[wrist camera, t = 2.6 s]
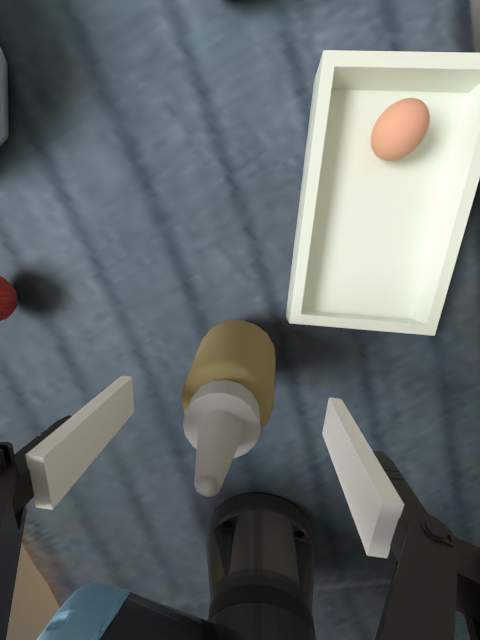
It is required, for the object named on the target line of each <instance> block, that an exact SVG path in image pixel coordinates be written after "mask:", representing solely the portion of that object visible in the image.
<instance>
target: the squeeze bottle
mask: <svg viewBox="0 0 480 640" xmlns="http://www.w3.org/2000/svg"><path fill="white" fill-rule="evenodd" d="M275 369H276V356H275V347H274V345H273V343H272V341H271V339H270V337H269V336H268V334H267V333H266V332H265V331H263V330H262V329H261V328H260V327H258V326H257V325H256V324H253V323H250V322H246V321H243V320H232V321H224V322H222V323H220V324H218V325H217V326H215V327H213V328H211V329H210V331H209V332H208V333H207V334H206V336H205V337H204V338H203V339H202V342H201V344H200V347H199V349H198V351H197V354H196V356H195V359H194V361H193V364H192V366H191V369H190V371H189V374H188V376H187V378H186V381H185V385H184V389H183V393H182V402H183V407H184V412H185V415H184V419H183V426H184V431H185V436H186V437H187V438H188V440H189V441H190V443H191V444H192V446H193V447H194V448H196V449H197V452H196V468H195V489H196V490H197V491H198V492H199V493H200V494H201V495H204V496H214V495H217V494H218V493H219V492H220V490H221V487H222V485H223V482H224V480H225V477H226V475H227V472H228V470H229V467H230V465H231V463H232V460H233V459H234V458H236V457H239V456H241V455H244V454H246V453H247V452H248V451H249V450H250V449H251V448H252V447H253V446H254V445H255V444H256V442H257V439H258V437H259V434H260V430H261V429H262V428H263V427H264V426H265V425H266V424H267V423H268V420H269V417H270V415H271V412H272V409H273V402H274V385H275Z"/></svg>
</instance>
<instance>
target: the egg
mask: <svg viewBox="0 0 480 640" xmlns="http://www.w3.org/2000/svg"><path fill="white" fill-rule="evenodd" d="M429 122H430V114H429V110H428V107H427V106H426V104H425V103H424V102H423V101H421V100H419V99H416V98H406V99H402V100H399V101H397V102H395V103H393V104H392V105H391V106H389V107H388V108H387V109H386V110H385V111H384V112H383V113H382V114H381V115H380V117H379V118H378V120H377V121H376V123H375V125H374V127H373V130H372V134H371V147H372V150H373V152H374V154H375V155H376V156H377V157H379V158H380V159H382V160H386V161H393V160H398V159H400V158H403V157H405V156H406V155H408V154H410V153H411V152H412V151H413V150H414V149H415V148H417V146H418V145H419V144H420V143H421V141H422V140H423V138H424V137H425V135H426V133H427V130H428V127H429Z"/></svg>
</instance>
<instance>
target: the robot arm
mask: <svg viewBox="0 0 480 640" xmlns="http://www.w3.org/2000/svg"><path fill="white" fill-rule="evenodd" d="M133 413H134V400H133V381H132V377H129V376H120V377H119V378H118V379H117V380H116V381H114V382H113V383H112V384H111V385H110V386H108V387H107V388H106V389H105V390H103V391H102V392H101V393H100V394H99V395H97V396H96V397H95V398H94V399H93V400H91V401H90V402H89V403H88V404H87V405H85V406H84V407H83V408H82V409H80V410H79V411H78V412H77V413H76V414H74V415H73V416H66V417H64V418H62V419H60V420H58V421H57V422H55V423H54V424H53V425H51V426H50V427H49V428H48V429H47V430H45V431H44V432H43V433H41V434H40V436H37V437H36V438H35V439H34V440H32V441H31V442H30V443H29V444H27V445H26V446H25V447H23V448H22V449H21V450H20V451H18V452H17V453H16V454H15V455H14V451H13V446H12V444H11V443H9V442H0V640H6V635H7V628H8V622H9V616H10V610H11V604H12V598H13V591H14V586H15V579H16V573H17V567H18V560H19V555H20V548H21V542H22V536H23V530H24V524H25V517H26V506H25V505H26V504H27V503H28V502H29V501H30V500H31V499H32V498H33V497H34V500H35V505H36V507H38V508H44V509H51V510H53V509H54V507H55V506H56V505H57V504H58V503H59V501H60V500H61V499H62V498H63V497H64V495H65V494H66V493H67V492H68V491H69V489H70V488H71V487H72V486H73V485H74V483H75V482H76V481H77V480H78V479H79V477H80V476H81V475H82V474H83V473H84V471H85V470H86V469H87V468H88V467H89V466H90V464H91V463H92V462H93V461H94V460H95V458H96V457H97V456H98V455H99V454H100V452H101V451H102V450H103V449H104V448H105V446H106V445H107V444H108V443H109V442H110V440H111V439H112V438H113V437H114V436H115V434H116V433H117V432H118V431H119V430H120V428H121V427H122V426H123V425H124V424H125V422H126V421H127V420H128V419H129V418H130V416H131V415H132V414H133ZM322 434H323V437H324V440H325V443H326V445H327V448H328V451H329V453H330V456H331V459H332V462H333V464H334V467H335V470H336V473H337V475H338V478H339V481H340V483H341V486H342V489H343V492H344V494H345V497H346V500H347V502H348V505H349V508H350V511H351V513H352V516H353V519H354V522H355V524H356V527H357V530H358V532H359V535H360V538H361V541H362V543H363V546H364V549H365V552H366V554H367V556H374V557H381V558H387V557H388V554H389V551H390V548H391V549H392V551H393V553H394V556H395V558H396V560H397V561H396V564H395V567H394V570H393V573H392V576H391V579H390V580H391V582H390V586H389V590H388V594H387V597H386V601H385V605H384V609H383V612H382V616H381V620H380V624H379V627H378V631H377V635H376V639H375V640H454V632H455V611H456V610H457V611H459V612H461V613H463V614H465V619H466V623H467V627H468V631H469V635H470V639H471V640H480V547H477V546H475V545H472V544H470V543H468V542H465V541H463V540H460V539H458V538H456V537H454V535H453V534H452V532H451V531H450V530H449V529H448V528H447V527H446V526H445V525H444V524H443V523H442V522H440V521H439V520H438V519H436V518H435V517H433V516H431V515H429V514H428V513H427V512H426V510H425V509H424V507H423V506H422V504H421V503H420V501H419V500H418V498H417V497H416V495H415V494H414V492H413V491H412V489H411V488H410V486H409V485H408V483H407V482H406V481H405V479H404V477H403V476H402V474H401V473H399V470H398V468H397V467H396V466H395V464H394V463H393V461H392V460H391V459H390V458H389V457H388V456H386V455H385V454H384V453H383V452H379V451H372V450H371V448H370V446H369V445H368V443H367V441H366V440H365V438H364V436H363V435H362V433H361V431H360V430H359V428H358V426H357V425H356V423H355V421H354V420H353V418H352V416H351V414H350V413H349V411H348V409H347V408H346V406H345V404H344V403H343V401H342V399H338V398H329V400H328V406H327V411H326V416H325V422H324V427H323V432H322ZM207 560H208V574H209V587H210V609H209V617H208V621H206V620H204V619H201V618H199V617H196V616H193V615H191V614H188V613H185V612H182V611H180V610H177V609H174V608H171V607H169V606H166V605H163V604H160V603H158V602H155V601H152V600H150V599H147V598H144V597H142V596H139V595H137V594H134V593H131V589H130V588H128V587H127V588H125V589H121V588H117V587H114V586H110V585H107V584H103V583H100V582H89V583H87V584H85V585H83V586H81V587H80V588H78V589H77V590H76V591H75V592H74V593H73V594H72V595H71V596H70V597H69V598H68V599H67V600H66V601H65V603H64V604H63V605H62V606H61V607H60V609H59V610H58V611H57V613H56V614H55V615H54V617H53V618H52V619H51V621H50V622H49V623H48V625H47V626H46V628H45V629H44V630H43V632H42V633H41V635H40V636H39V638H38V639H37V640H316V636H315V630H314V623H313V616H312V599H313V584H314V569H315V545H314V540H313V535H312V530H311V526H310V524H309V521H308V520H307V518H306V517H305V515H304V514H303V513H302V512H301V511H300V510H299V509H298V508H297V507H296V506H294V505H293V504H292V503H290V502H288V501H286V500H284V499H282V498H279V497H276V496H273V495H268V494H259V493H252V494H244V495H240V496H236V497H233V498H231V499H229V500H227V501H226V502H224V503H223V504H221V505H220V506H219V507H218V508H217V509H216V511H215V512H214V514H213V515H212V518H211V520H210V525H209V530H208V536H207Z"/></svg>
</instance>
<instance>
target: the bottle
mask: <svg viewBox="0 0 480 640" xmlns="http://www.w3.org/2000/svg"><path fill="white" fill-rule="evenodd" d="M8 137H9V121H8V64H7V62H6V59H5V57H4V54H3V52H2V49H1V48H0V147H1V145H2V144H3V143H4V142H5V141H6V139H7V138H8Z"/></svg>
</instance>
